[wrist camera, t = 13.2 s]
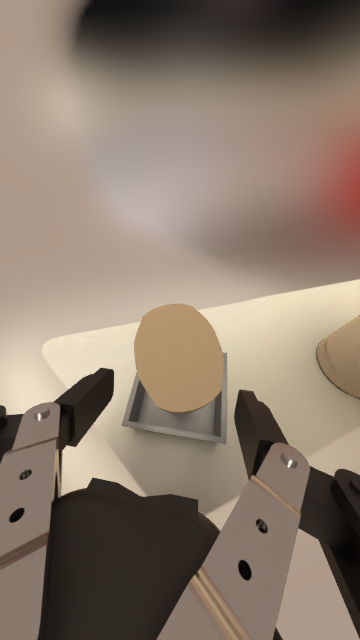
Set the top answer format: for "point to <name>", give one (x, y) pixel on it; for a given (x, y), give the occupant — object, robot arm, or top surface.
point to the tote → (179, 415)
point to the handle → (178, 358)
